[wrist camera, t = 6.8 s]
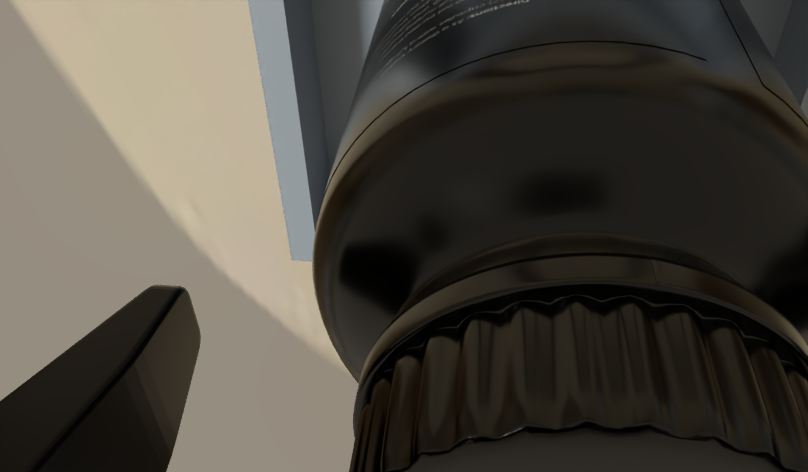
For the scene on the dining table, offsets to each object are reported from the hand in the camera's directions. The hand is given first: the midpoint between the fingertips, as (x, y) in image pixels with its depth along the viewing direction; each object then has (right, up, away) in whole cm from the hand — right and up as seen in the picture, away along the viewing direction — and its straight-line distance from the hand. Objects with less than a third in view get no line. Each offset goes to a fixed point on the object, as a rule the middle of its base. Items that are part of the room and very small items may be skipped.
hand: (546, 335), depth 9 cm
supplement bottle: (+1, +6, +7) cm, 9 cm away
